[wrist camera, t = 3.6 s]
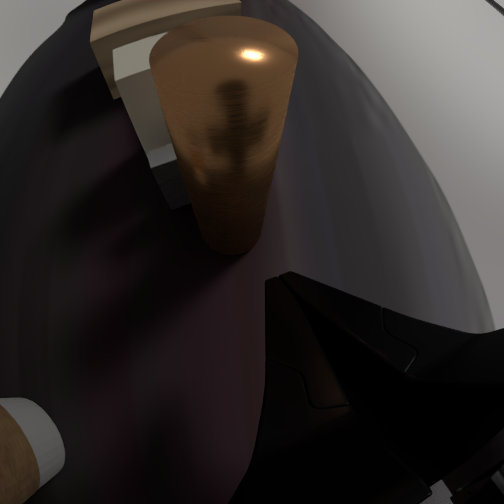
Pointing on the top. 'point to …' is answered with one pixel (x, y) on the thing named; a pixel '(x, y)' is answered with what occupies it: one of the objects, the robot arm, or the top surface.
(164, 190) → the shaft
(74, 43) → the top surface
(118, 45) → the bearing block
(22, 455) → the coffee cup
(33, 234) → the top surface
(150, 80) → the spacer
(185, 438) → the top surface
